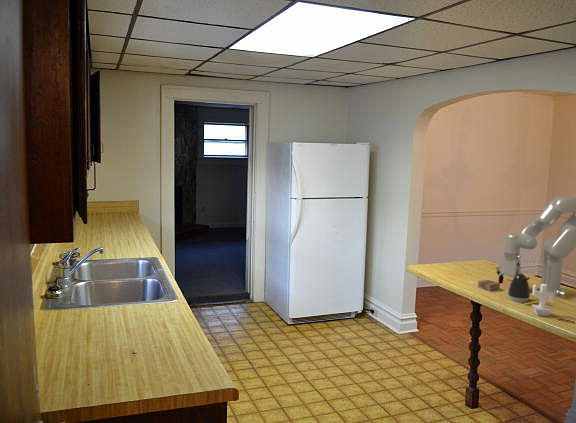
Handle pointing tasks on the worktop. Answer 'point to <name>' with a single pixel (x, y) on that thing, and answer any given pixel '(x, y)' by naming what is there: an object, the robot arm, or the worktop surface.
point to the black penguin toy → (519, 289)
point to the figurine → (542, 300)
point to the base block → (488, 285)
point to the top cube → (506, 284)
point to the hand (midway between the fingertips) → (508, 285)
